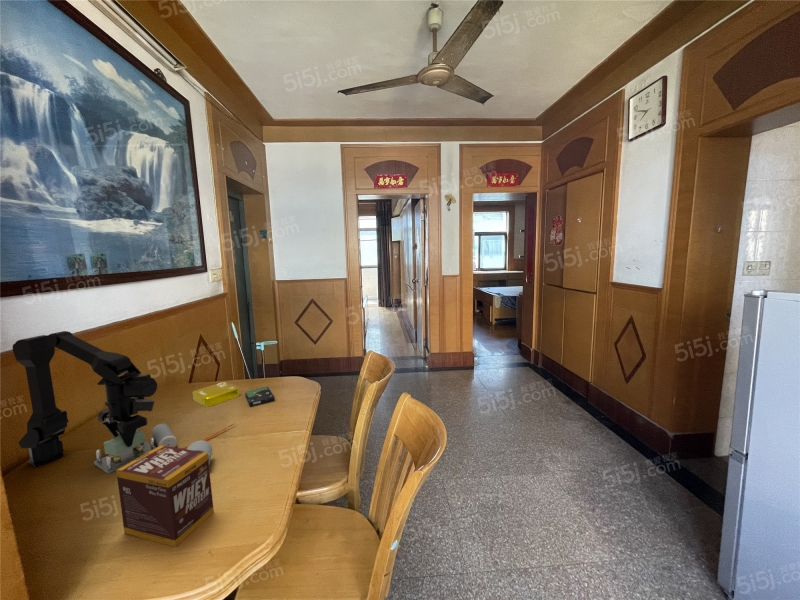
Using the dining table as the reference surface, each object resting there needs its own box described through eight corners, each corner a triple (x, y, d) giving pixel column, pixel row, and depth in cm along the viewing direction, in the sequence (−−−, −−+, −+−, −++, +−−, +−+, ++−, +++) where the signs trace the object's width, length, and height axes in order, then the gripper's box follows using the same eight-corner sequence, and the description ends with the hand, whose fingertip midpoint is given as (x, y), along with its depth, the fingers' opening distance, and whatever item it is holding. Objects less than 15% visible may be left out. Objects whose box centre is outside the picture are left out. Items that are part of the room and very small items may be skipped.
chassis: (108, 473, 96) (106, 459, 95) (94, 464, 100) (92, 450, 100) (158, 451, 107) (156, 438, 106) (143, 443, 112) (142, 431, 111)
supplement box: (176, 547, 70) (167, 480, 68) (123, 533, 74) (114, 469, 72) (215, 512, 80) (209, 452, 78) (167, 501, 84) (160, 444, 82)
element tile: (191, 400, 148) (190, 390, 147) (225, 389, 160) (224, 380, 159) (206, 408, 139) (205, 397, 139) (241, 396, 151) (240, 386, 150)
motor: (160, 459, 102) (161, 443, 102) (148, 434, 118) (149, 420, 118) (238, 440, 119) (239, 427, 119) (219, 421, 134) (220, 409, 134)
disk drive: (275, 402, 144) (268, 391, 156) (275, 396, 143) (268, 385, 156) (250, 408, 138) (244, 396, 150) (249, 402, 138) (244, 391, 150)
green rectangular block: (116, 455, 99) (114, 443, 98) (105, 453, 100) (103, 440, 100) (145, 441, 107) (143, 429, 106) (134, 438, 108) (133, 427, 108)
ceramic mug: (214, 457, 102) (211, 434, 101) (211, 472, 95) (208, 447, 94) (174, 467, 98) (170, 443, 97) (167, 484, 91) (164, 458, 90)
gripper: (163, 392, 104) (168, 438, 106) (135, 383, 113) (141, 426, 115) (120, 406, 94) (127, 457, 96) (93, 395, 103) (100, 441, 105)
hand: (125, 444), depth 103 cm, fingers closed on green rectangular block, 5 cm apart
